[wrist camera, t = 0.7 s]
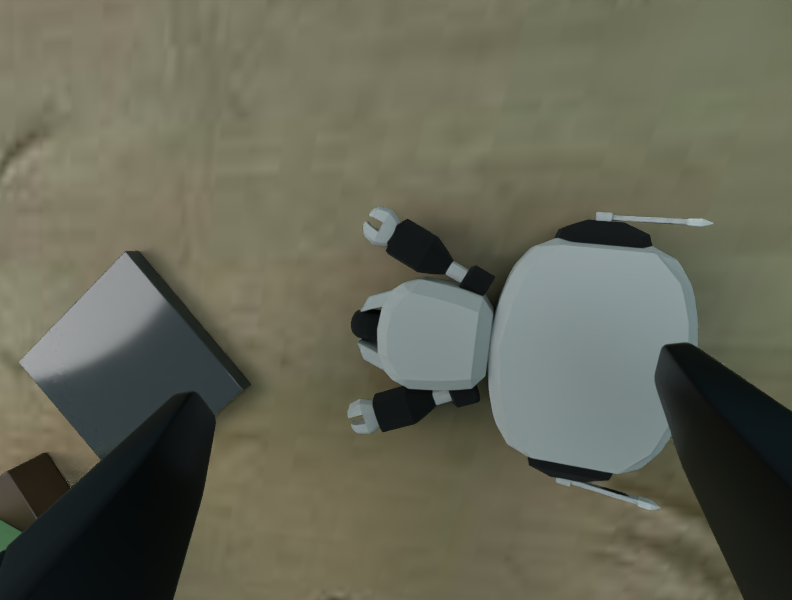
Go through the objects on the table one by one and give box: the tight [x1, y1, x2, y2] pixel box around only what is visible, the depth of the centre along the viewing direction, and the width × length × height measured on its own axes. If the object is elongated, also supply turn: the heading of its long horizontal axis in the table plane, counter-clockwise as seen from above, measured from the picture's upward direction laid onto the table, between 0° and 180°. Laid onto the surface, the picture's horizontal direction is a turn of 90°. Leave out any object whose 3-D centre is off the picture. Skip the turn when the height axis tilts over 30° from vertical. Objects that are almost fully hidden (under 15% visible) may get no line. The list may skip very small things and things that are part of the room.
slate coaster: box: [19, 251, 251, 460], centre depth 26 cm, size 10×10×1 cm
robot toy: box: [347, 206, 714, 510], centre depth 21 cm, size 12×4×15 cm
